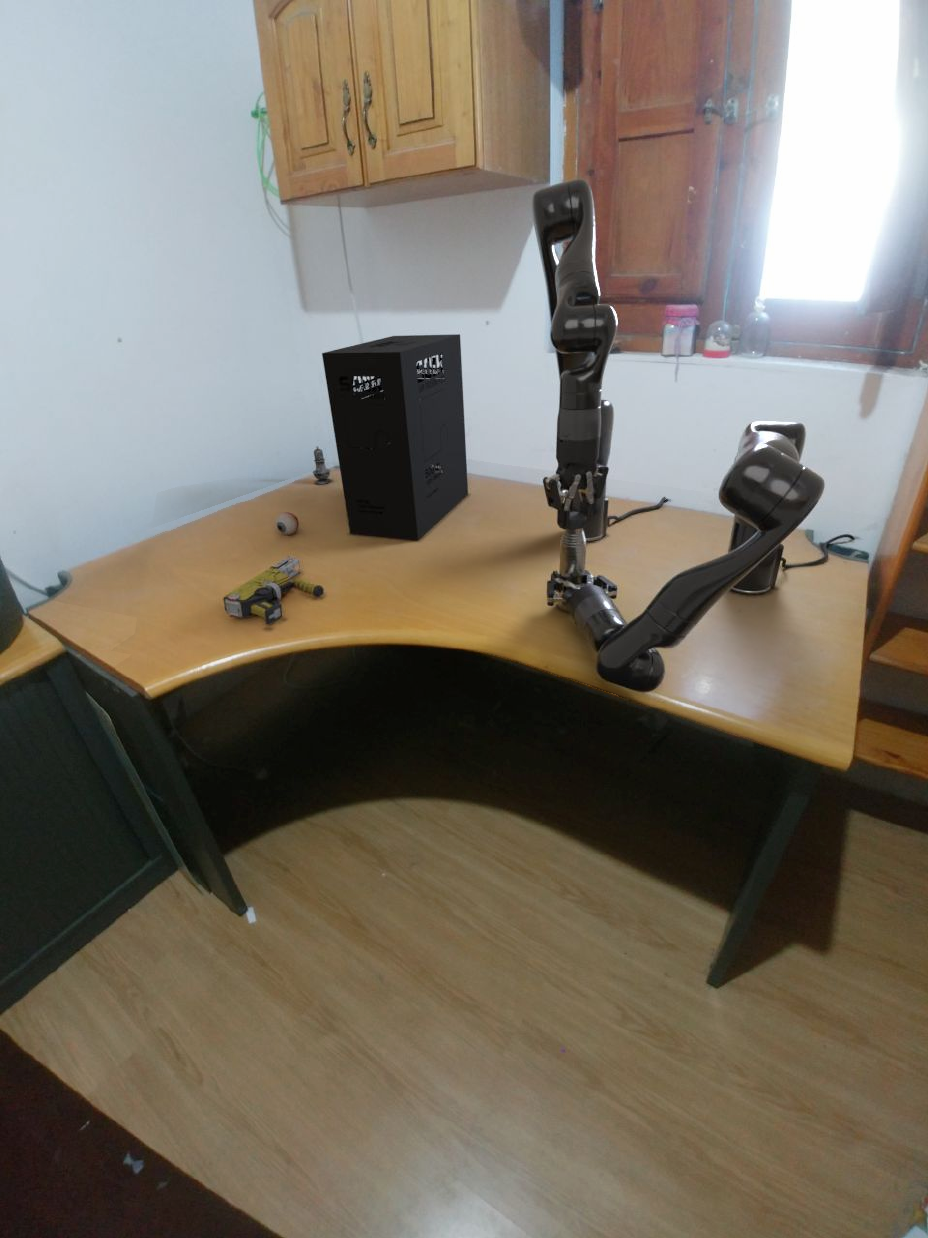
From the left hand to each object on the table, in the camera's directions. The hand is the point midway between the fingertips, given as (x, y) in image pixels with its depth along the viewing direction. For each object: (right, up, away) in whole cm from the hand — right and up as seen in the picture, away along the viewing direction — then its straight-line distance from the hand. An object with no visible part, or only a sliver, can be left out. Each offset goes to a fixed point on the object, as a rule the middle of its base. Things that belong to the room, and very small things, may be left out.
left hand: (573, 524), depth 114 cm
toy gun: (-60, -13, +18) cm, 64 cm away
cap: (0, +1, -1) cm, 1 cm away
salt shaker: (-69, +29, +92) cm, 119 cm away
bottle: (+1, -15, +9) cm, 18 cm away
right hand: (0, -9, +8) cm, 12 cm away
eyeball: (-69, +5, +51) cm, 86 cm away
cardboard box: (-36, +13, +61) cm, 72 cm away
